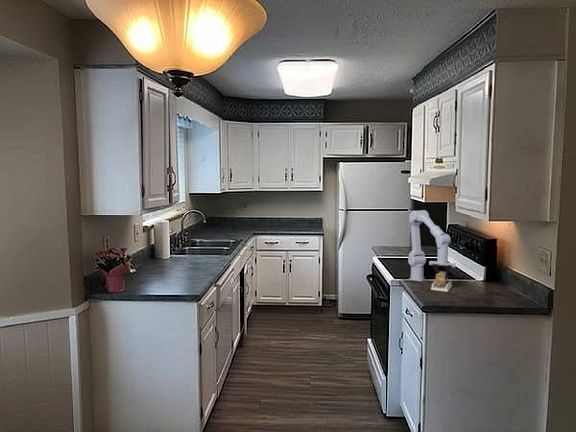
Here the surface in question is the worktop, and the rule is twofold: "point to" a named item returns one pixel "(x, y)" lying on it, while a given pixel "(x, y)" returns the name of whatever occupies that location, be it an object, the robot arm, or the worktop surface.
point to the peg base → (441, 286)
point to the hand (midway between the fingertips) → (441, 277)
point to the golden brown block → (441, 277)
